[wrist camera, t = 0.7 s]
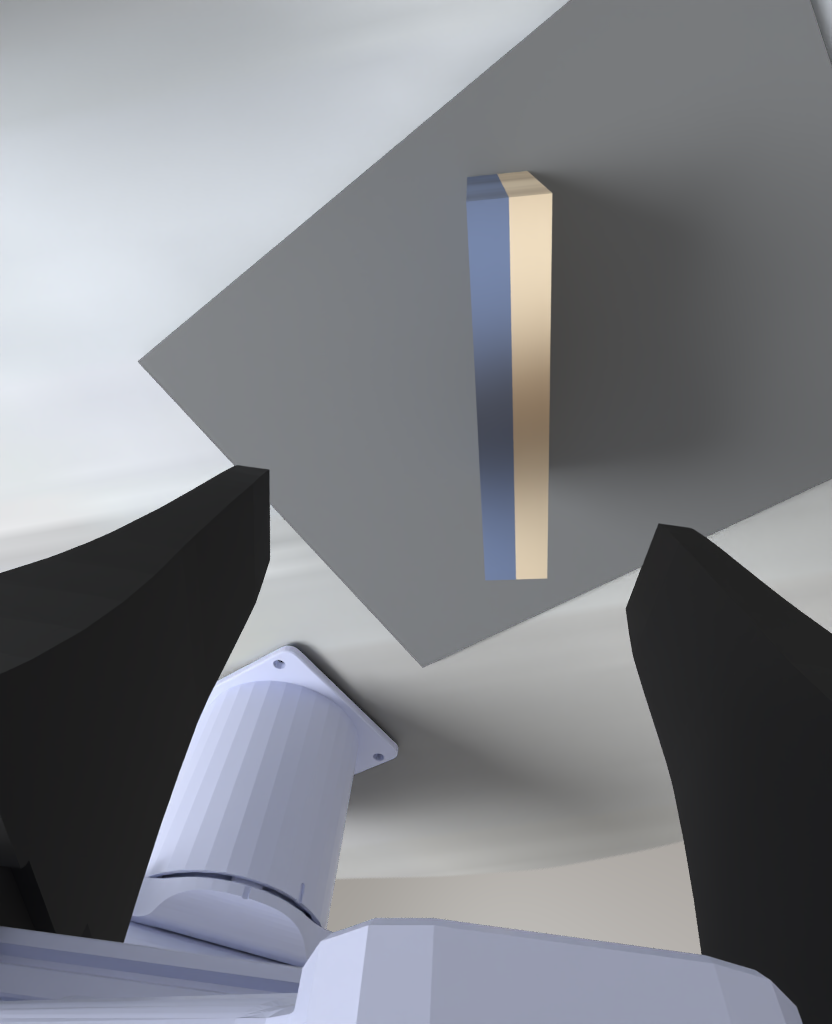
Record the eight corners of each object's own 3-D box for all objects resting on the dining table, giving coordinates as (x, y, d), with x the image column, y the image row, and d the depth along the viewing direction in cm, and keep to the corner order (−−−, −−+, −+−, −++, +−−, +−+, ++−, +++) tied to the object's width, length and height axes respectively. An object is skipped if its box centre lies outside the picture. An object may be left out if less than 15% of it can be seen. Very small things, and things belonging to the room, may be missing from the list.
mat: (423, 660, 27) (422, 667, 27) (143, 357, 21) (137, 361, 21) (940, 419, 20) (948, 424, 20) (751, -151, 14) (758, -158, 13)
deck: (528, 470, 22) (547, 578, 16) (481, 472, 22) (485, 580, 17) (527, 171, 17) (552, 192, 12) (467, 177, 17) (466, 202, 12)
